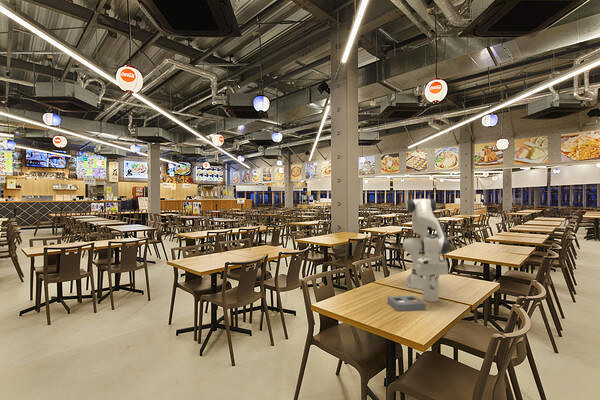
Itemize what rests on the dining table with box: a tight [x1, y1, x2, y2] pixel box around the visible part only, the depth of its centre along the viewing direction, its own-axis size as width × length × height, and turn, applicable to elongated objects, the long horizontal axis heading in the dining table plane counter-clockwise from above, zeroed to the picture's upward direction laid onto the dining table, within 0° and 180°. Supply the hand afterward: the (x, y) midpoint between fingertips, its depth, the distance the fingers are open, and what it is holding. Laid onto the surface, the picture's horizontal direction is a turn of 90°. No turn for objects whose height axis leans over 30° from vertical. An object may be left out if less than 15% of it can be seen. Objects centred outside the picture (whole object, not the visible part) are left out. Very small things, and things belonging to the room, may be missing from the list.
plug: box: [429, 274, 436, 290], centre depth 185 cm, size 4×4×10 cm
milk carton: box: [422, 275, 440, 303], centre depth 198 cm, size 7×7×19 cm
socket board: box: [387, 295, 427, 312], centre depth 187 cm, size 16×18×4 cm
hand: (432, 281), depth 185 cm, fingers closed on plug, 3 cm apart
